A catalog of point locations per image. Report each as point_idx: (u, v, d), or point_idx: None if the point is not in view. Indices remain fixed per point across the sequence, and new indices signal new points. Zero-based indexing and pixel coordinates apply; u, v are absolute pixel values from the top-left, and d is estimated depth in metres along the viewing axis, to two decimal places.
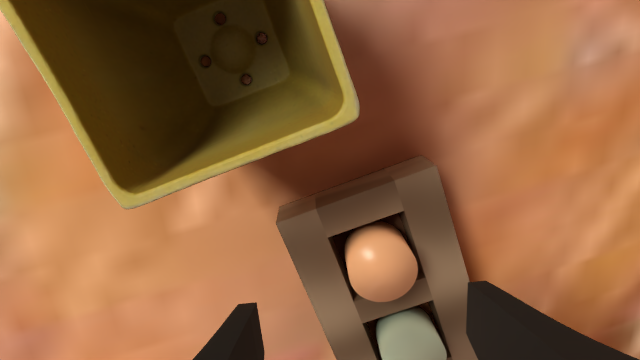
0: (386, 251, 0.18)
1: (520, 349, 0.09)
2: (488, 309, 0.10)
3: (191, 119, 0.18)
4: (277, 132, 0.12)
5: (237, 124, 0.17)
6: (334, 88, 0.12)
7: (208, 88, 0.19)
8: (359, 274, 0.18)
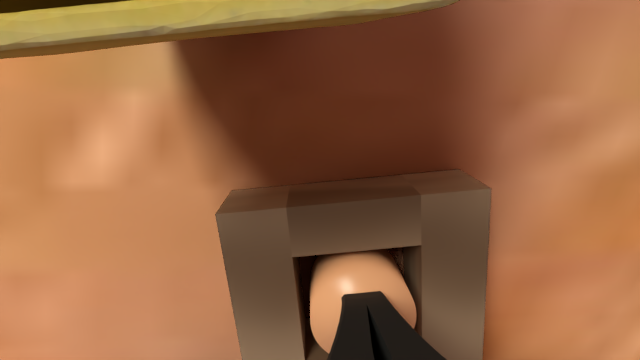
0: (377, 290, 0.12)
1: None
2: (369, 320, 0.10)
3: None
4: None
5: None
6: None
7: None
8: (326, 315, 0.12)
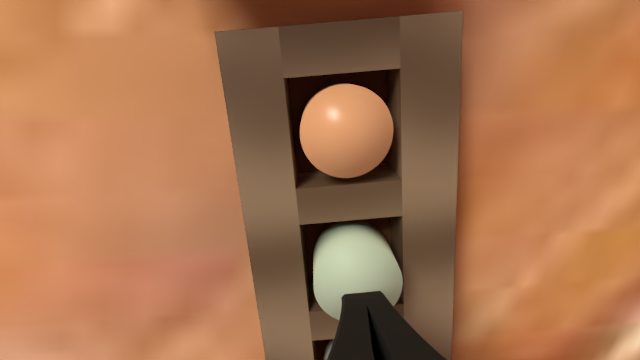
0: (358, 103, 0.13)
1: None
2: (369, 320, 0.10)
3: None
4: None
5: None
6: None
7: None
8: (313, 127, 0.13)
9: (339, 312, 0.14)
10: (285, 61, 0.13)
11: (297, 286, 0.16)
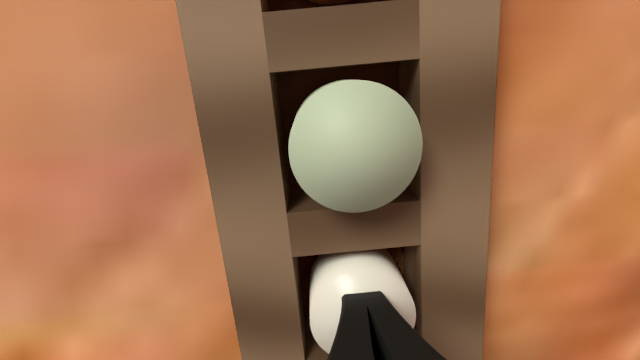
0: None
1: None
2: (369, 320, 0.10)
3: None
4: None
5: None
6: None
7: None
8: None
9: (327, 195, 0.10)
10: None
11: (269, 173, 0.11)
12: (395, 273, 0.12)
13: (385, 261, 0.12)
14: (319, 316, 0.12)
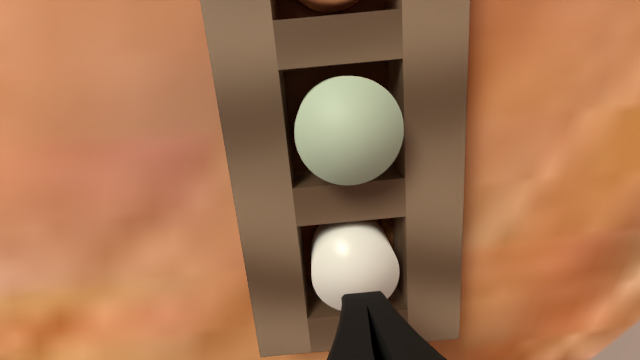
0: None
1: None
2: (369, 320, 0.10)
3: None
4: None
5: None
6: None
7: None
8: None
9: (326, 170, 0.12)
10: None
11: (277, 154, 0.13)
12: (382, 237, 0.14)
13: (374, 228, 0.15)
14: (319, 272, 0.14)
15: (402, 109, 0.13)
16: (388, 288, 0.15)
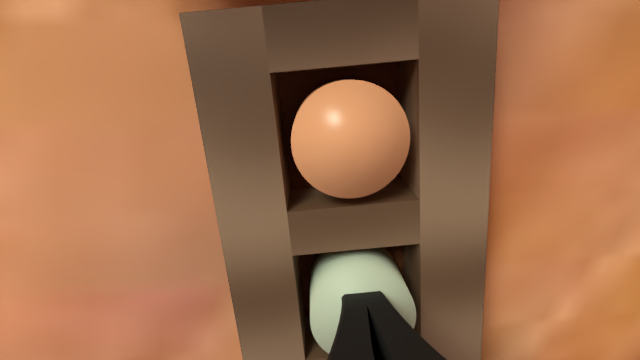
0: (365, 103, 0.10)
1: None
2: (369, 320, 0.10)
3: None
4: None
5: None
6: None
7: None
8: (308, 135, 0.10)
9: None
10: (271, 51, 0.10)
11: (290, 330, 0.13)
12: None
13: None
14: None
15: (418, 285, 0.13)
16: None
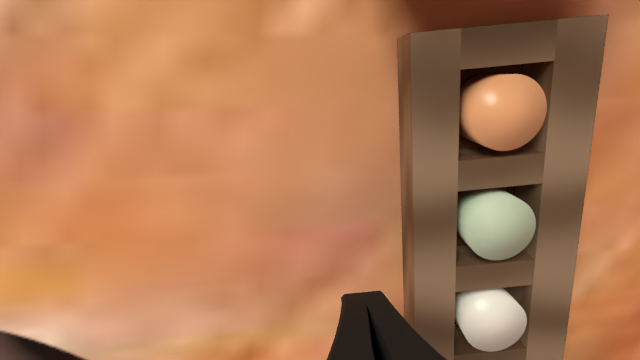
0: (521, 89, 0.16)
1: None
2: (369, 320, 0.10)
3: None
4: None
5: None
6: None
7: None
8: (483, 109, 0.16)
9: (484, 251, 0.19)
10: (463, 56, 0.16)
11: (449, 244, 0.19)
12: (513, 298, 0.20)
13: (504, 290, 0.21)
14: (470, 324, 0.20)
15: (536, 213, 0.19)
16: (517, 334, 0.20)
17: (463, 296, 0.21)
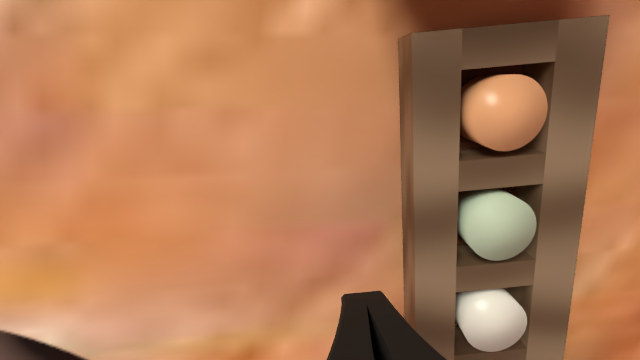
0: (522, 89, 0.16)
1: None
2: (369, 320, 0.10)
3: None
4: None
5: None
6: None
7: None
8: (484, 109, 0.17)
9: (484, 251, 0.19)
10: (464, 56, 0.16)
11: (450, 244, 0.19)
12: (513, 298, 0.20)
13: (505, 290, 0.21)
14: (470, 324, 0.20)
15: (537, 214, 0.19)
16: (517, 335, 0.20)
17: (463, 296, 0.21)
